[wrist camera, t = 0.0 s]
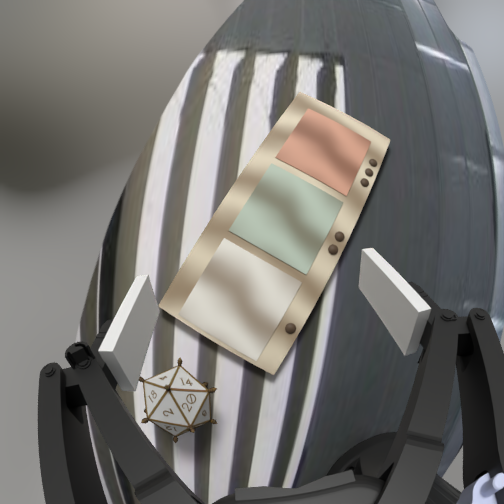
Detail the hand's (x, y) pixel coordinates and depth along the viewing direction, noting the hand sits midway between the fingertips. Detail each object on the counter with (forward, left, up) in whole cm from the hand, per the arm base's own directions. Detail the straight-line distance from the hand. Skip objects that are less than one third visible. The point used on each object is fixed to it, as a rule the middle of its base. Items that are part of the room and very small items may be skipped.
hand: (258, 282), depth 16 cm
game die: (-11, +10, -16) cm, 21 cm away
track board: (+8, -5, -15) cm, 18 cm away
